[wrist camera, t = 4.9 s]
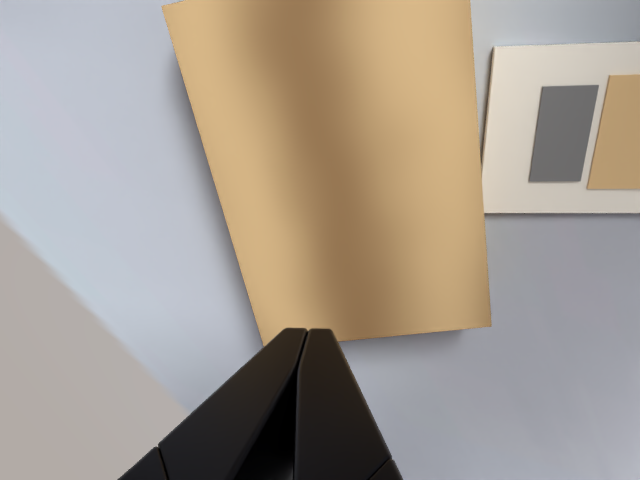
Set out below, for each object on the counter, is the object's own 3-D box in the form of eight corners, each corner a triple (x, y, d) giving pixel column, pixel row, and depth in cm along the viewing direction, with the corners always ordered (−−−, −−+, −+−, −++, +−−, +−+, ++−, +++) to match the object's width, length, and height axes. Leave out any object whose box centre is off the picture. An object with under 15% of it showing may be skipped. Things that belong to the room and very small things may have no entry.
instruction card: (749, 37, 16) (758, 38, 16) (697, 209, 19) (703, 214, 18) (493, 46, 17) (495, 47, 17) (476, 210, 20) (478, 214, 19)
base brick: (451, -55, 16) (465, -65, 14) (477, 285, 22) (491, 326, 19) (193, 4, 18) (161, 6, 15) (277, 308, 23) (264, 348, 21)
